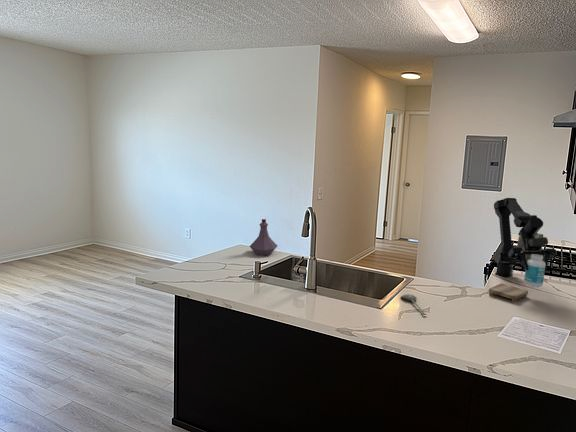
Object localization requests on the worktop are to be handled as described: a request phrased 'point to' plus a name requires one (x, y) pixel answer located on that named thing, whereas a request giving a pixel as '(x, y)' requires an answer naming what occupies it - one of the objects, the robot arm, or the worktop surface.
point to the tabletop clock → (523, 248)
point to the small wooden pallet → (508, 292)
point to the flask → (263, 241)
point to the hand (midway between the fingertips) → (536, 270)
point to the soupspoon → (412, 298)
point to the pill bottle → (535, 271)
